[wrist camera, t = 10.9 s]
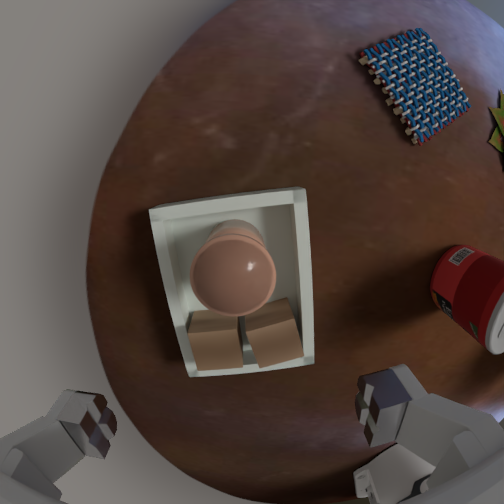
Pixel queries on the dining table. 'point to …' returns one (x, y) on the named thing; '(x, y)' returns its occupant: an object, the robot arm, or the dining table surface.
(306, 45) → the dining table surface
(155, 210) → the tray
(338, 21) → the dining table surface
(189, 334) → the block
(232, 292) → the pink lidded jar
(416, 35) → the woven mat
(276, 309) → the block
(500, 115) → the lily flower
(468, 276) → the canned food
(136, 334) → the dining table surface
